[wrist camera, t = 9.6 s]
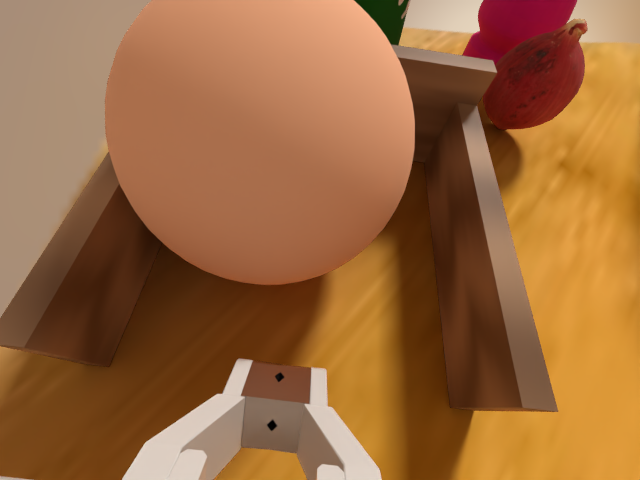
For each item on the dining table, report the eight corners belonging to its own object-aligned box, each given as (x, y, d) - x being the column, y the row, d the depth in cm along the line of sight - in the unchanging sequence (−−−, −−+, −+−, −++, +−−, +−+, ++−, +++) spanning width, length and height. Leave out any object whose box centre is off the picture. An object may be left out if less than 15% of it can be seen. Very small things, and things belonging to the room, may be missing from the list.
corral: (474, 410, 14) (616, 412, 8) (82, 363, 13) (-88, 327, 7) (438, 153, 23) (493, 60, 17) (198, 118, 22) (164, 8, 16)
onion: (494, 159, 23) (582, 51, 16) (451, 112, 25) (511, 1, 18) (547, 143, 24) (648, 38, 18) (501, 100, 27) (574, -6, 20)
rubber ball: (562, 37, 9) (396, 191, 20) (252, -208, 9) (263, 82, 21) (306, 393, 5) (283, 335, 17) (-167, -7, 6) (126, 203, 17)
